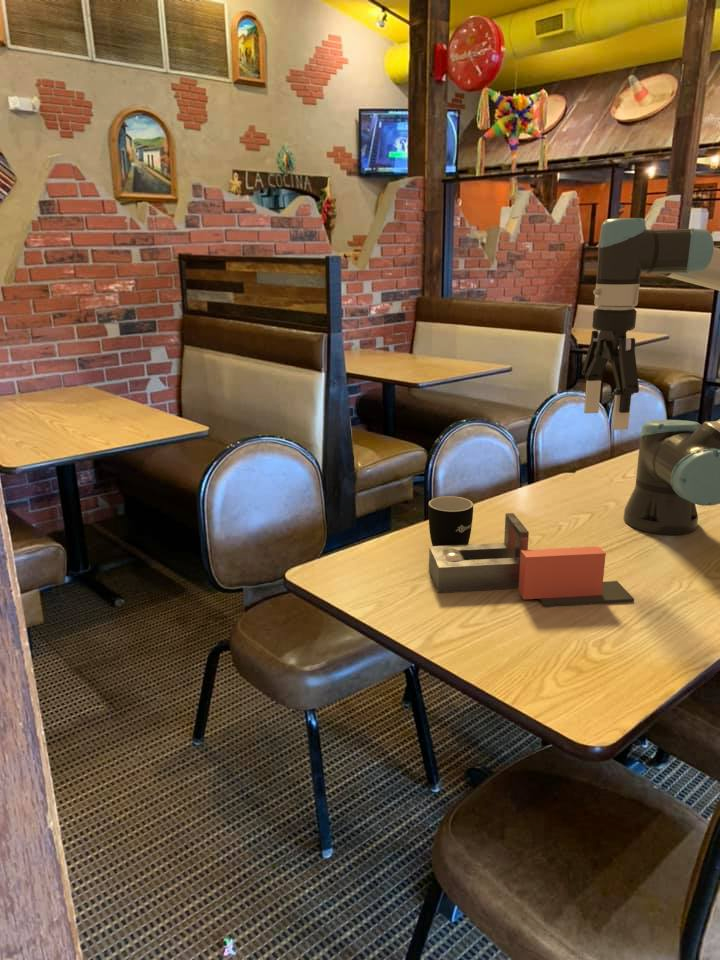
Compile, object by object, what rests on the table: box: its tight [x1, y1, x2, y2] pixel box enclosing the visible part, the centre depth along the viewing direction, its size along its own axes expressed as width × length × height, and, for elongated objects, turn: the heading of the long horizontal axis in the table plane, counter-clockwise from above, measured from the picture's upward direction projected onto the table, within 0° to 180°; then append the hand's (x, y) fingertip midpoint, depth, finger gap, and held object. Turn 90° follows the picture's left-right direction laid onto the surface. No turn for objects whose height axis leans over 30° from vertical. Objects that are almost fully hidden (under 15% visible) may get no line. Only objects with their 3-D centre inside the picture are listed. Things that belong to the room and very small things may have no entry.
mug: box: [427, 495, 474, 546], centre depth 147 cm, size 12×9×10 cm
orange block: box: [518, 545, 607, 600], centre depth 126 cm, size 14×3×8 cm, turn 95°
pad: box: [538, 580, 635, 608], centre depth 128 cm, size 16×7×1 cm, turn 95°
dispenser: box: [428, 512, 530, 594], centre depth 133 cm, size 16×10×11 cm, turn 95°
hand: (604, 420), depth 139 cm, fingers open, 13 cm apart
